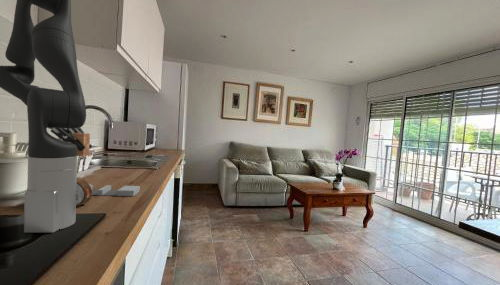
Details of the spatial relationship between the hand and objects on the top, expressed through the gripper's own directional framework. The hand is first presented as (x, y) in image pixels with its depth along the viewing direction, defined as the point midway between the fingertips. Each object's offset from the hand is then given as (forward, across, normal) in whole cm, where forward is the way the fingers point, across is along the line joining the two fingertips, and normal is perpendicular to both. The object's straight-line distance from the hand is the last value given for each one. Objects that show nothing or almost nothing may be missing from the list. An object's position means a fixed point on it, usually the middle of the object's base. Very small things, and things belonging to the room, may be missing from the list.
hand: (86, 148), depth 85 cm
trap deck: (+16, 0, +7) cm, 17 cm away
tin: (+13, -14, +11) cm, 21 cm away
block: (0, 0, +3) cm, 3 cm away
